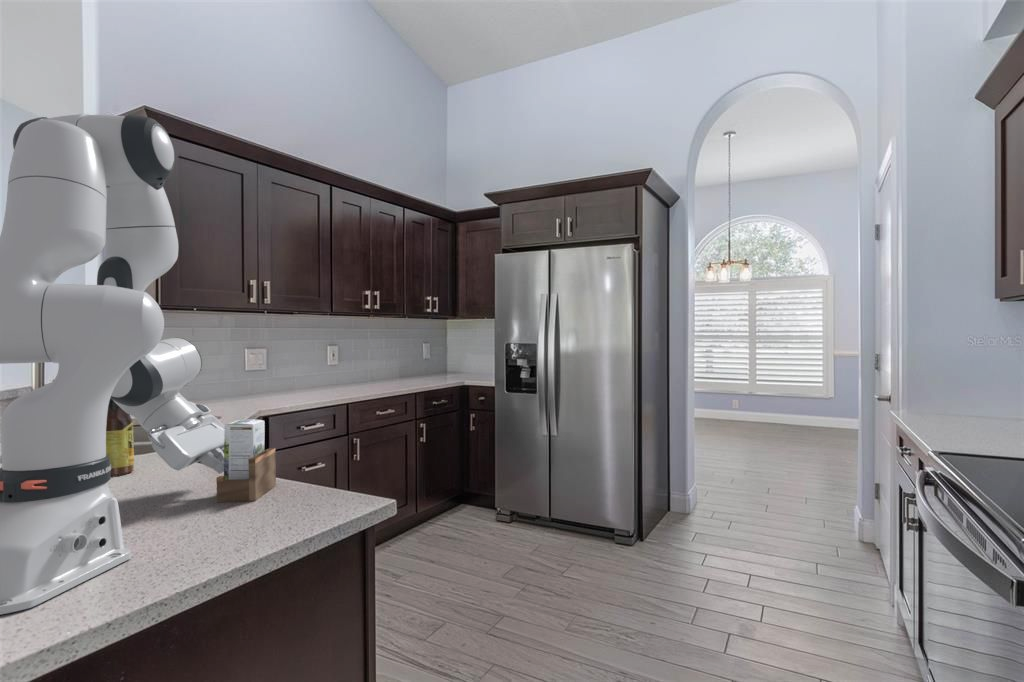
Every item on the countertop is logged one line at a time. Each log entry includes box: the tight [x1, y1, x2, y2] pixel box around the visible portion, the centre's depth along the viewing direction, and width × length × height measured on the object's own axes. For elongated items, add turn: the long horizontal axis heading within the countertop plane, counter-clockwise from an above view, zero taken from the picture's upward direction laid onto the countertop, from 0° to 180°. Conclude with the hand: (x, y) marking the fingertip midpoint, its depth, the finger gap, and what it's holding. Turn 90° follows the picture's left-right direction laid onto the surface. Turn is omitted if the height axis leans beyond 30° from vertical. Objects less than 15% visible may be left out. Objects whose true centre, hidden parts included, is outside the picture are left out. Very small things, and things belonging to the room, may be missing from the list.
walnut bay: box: [216, 447, 277, 503], centre depth 107 cm, size 11×7×8 cm
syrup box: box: [223, 418, 266, 480], centre depth 107 cm, size 6×6×14 cm
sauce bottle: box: [106, 398, 135, 477], centre depth 126 cm, size 7×6×20 cm
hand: (226, 469), depth 107 cm, fingers closed, pressing on syrup box
